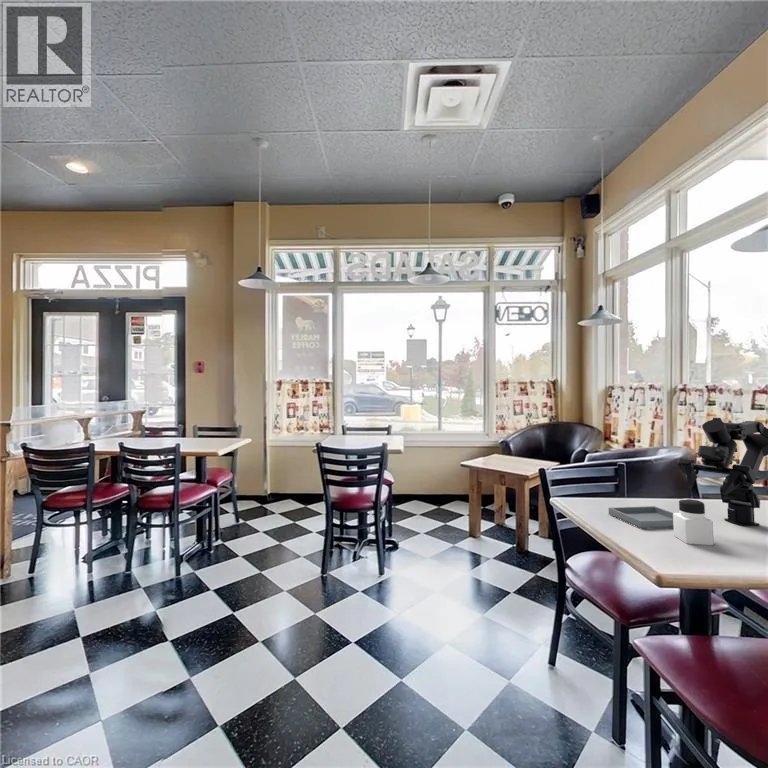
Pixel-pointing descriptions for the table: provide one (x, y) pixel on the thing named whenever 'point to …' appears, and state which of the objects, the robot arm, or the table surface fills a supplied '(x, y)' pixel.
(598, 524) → the table surface
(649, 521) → the tray
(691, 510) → the medicine bottle
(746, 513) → the robot arm
